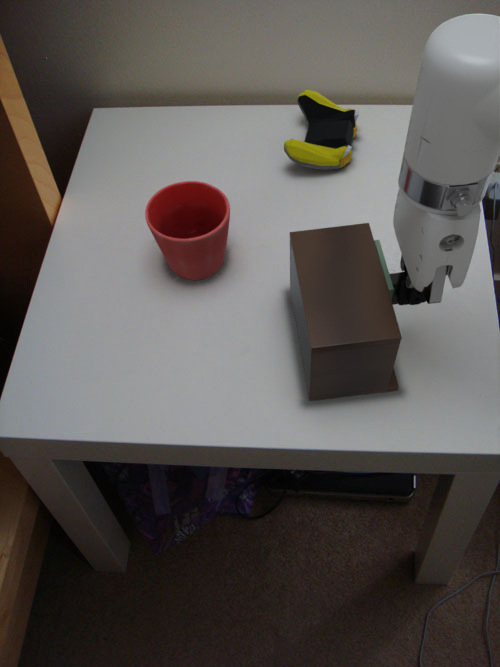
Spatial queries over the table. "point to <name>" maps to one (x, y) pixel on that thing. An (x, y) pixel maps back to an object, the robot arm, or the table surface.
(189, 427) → the table surface
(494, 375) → the table surface
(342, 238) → the cupboard
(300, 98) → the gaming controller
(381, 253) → the sliding door
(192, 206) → the flower pot
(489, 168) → the robot arm
